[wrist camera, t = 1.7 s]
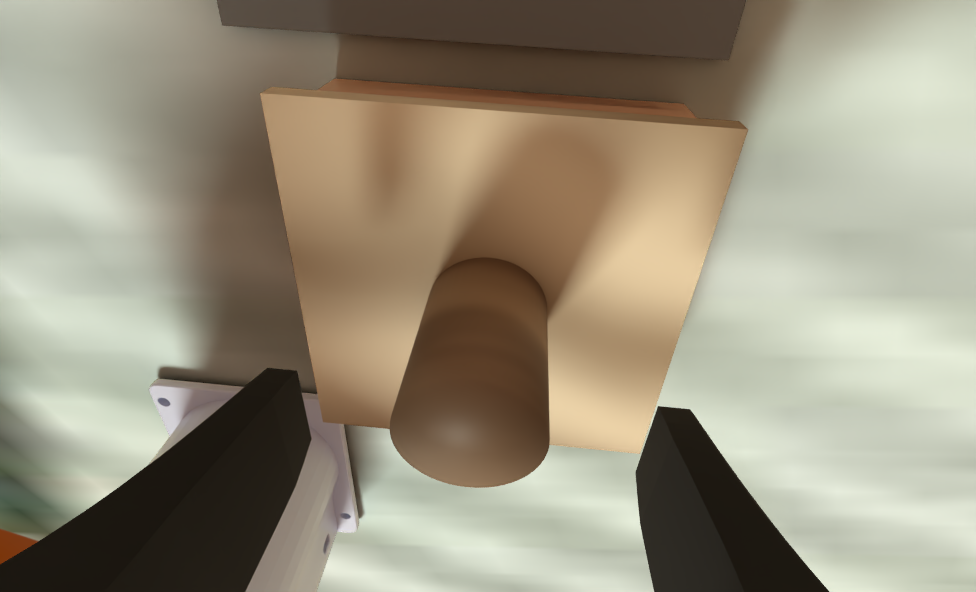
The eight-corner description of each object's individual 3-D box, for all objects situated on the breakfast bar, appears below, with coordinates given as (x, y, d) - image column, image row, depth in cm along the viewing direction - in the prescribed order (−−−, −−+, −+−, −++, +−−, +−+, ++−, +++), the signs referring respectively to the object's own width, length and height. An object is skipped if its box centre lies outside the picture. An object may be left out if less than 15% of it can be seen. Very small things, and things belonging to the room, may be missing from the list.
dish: (615, 367, 19) (627, 429, 17) (364, 344, 20) (339, 401, 17) (684, 104, 14) (714, 138, 11) (334, 78, 14) (292, 106, 12)
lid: (637, 438, 17) (667, 595, 13) (329, 408, 18) (264, 551, 13) (738, 121, 11) (853, 223, 7) (271, 87, 12) (125, 165, 8)
